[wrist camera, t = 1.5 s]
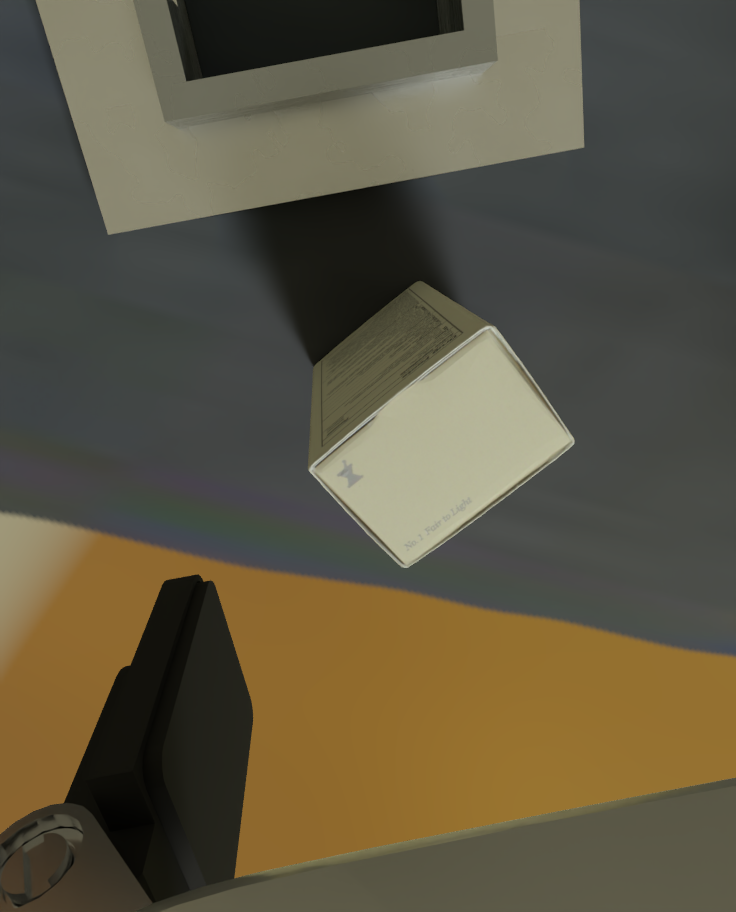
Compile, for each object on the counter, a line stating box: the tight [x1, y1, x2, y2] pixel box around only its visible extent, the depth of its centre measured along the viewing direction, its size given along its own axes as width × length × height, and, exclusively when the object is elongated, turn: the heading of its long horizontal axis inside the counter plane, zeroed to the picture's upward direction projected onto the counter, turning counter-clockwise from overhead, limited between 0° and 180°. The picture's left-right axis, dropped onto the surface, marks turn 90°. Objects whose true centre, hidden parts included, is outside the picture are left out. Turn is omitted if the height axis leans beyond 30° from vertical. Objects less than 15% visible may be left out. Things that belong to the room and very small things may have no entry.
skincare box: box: [308, 281, 574, 568], centre depth 22 cm, size 6×4×12 cm
